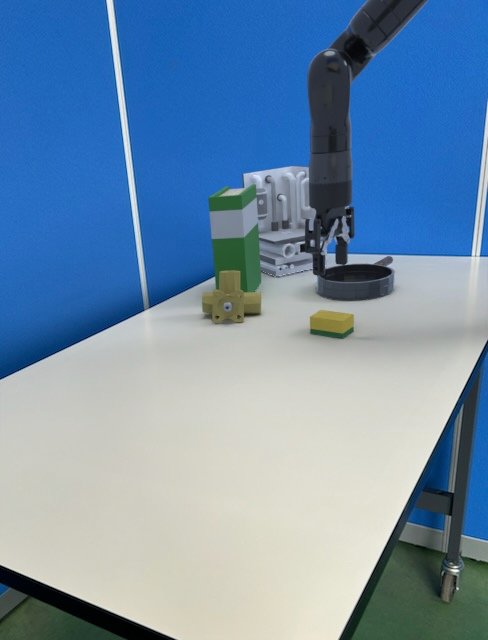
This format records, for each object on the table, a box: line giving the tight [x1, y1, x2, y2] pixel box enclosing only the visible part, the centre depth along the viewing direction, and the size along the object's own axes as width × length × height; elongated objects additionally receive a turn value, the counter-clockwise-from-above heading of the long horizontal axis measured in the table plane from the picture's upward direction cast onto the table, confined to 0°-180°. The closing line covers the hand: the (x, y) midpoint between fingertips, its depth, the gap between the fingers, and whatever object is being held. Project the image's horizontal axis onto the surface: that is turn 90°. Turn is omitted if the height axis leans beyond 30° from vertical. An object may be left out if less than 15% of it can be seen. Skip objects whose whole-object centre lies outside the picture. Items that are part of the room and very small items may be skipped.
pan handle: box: [373, 255, 394, 267], centre depth 153 cm, size 2×11×2 cm, turn 140°
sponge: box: [309, 309, 355, 339], centre depth 120 cm, size 7×4×4 cm, turn 50°
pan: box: [316, 263, 396, 302], centre depth 144 cm, size 17×17×4 cm
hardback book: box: [207, 184, 262, 293], centre depth 148 cm, size 18×7×24 cm, turn 164°
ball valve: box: [201, 270, 262, 324], centre depth 134 cm, size 13×10×10 cm
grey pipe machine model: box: [241, 165, 328, 278], centre depth 164 cm, size 16×19×25 cm
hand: (330, 269), depth 117 cm, fingers open, 8 cm apart
